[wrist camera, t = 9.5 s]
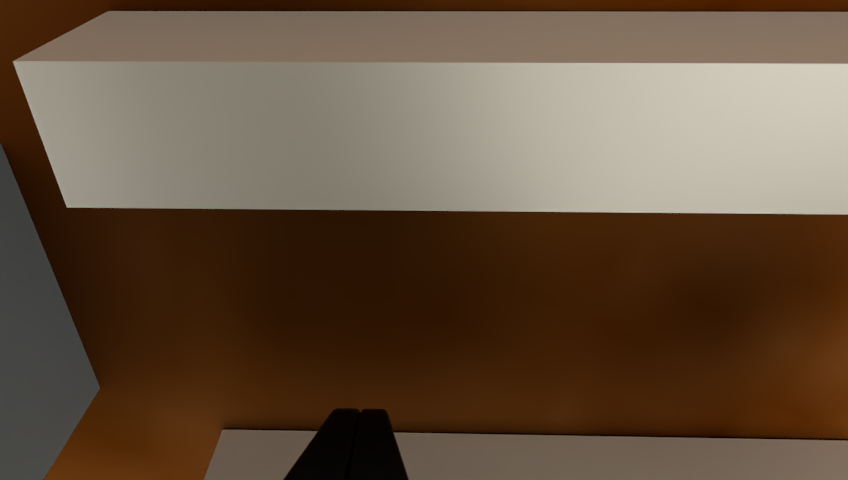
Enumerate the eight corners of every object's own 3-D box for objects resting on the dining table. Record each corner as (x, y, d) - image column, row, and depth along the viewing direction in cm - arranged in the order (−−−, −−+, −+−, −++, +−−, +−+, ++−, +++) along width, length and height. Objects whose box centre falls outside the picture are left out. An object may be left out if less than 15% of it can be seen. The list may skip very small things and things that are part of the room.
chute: (1044, 498, 15) (1141, 603, 13) (236, 482, 16) (205, 581, 14) (1477, 12, 9) (1795, 66, 7) (107, 11, 9) (12, 61, 7)
